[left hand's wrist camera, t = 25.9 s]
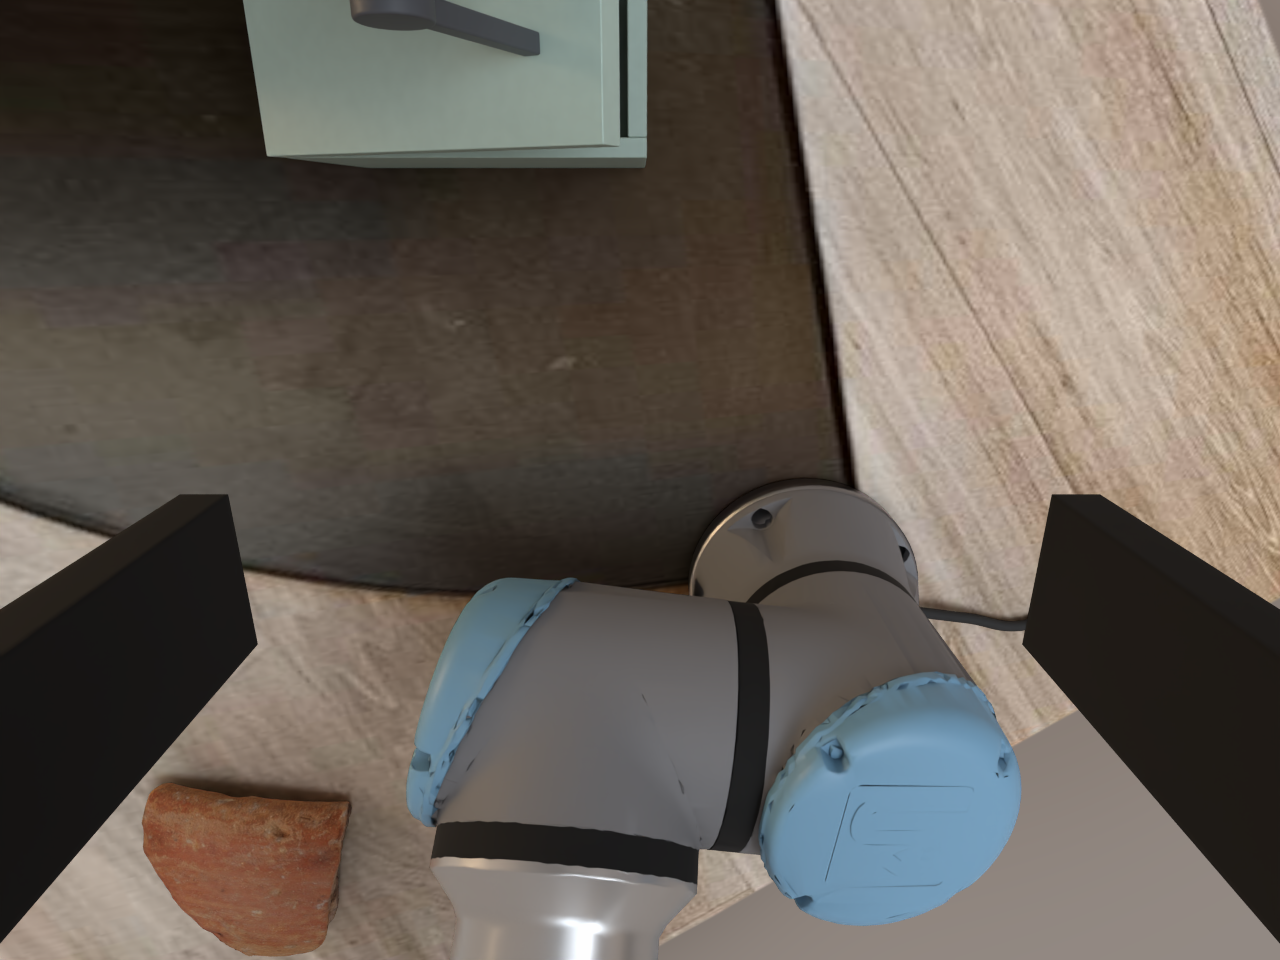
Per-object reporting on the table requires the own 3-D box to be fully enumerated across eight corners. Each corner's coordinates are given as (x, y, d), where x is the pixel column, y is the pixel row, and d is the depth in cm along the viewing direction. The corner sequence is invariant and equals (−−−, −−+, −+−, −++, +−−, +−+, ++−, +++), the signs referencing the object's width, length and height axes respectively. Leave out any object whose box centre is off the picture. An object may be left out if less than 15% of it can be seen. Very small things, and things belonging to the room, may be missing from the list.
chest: (645, -85, 40) (647, -182, 30) (645, 167, 44) (646, 157, 34) (339, -84, 40) (236, -182, 30) (367, 168, 44) (285, 157, 34)
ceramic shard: (131, 971, 58) (134, 797, 56) (189, 909, 65) (194, 750, 62) (313, 1014, 57) (326, 838, 54) (354, 947, 64) (368, 786, 61)
